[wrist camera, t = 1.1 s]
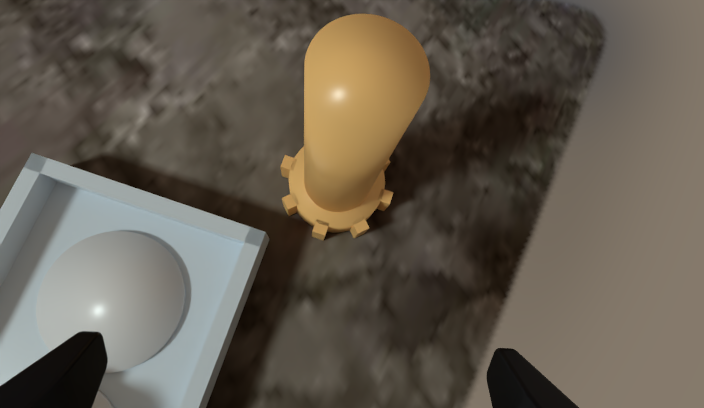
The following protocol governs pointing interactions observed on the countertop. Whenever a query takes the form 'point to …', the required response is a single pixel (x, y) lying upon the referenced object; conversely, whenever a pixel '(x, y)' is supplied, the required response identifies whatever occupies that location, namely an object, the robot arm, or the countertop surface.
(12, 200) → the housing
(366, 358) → the countertop surface
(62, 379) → the robot arm
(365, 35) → the tan gear peg
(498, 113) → the countertop surface
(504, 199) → the countertop surface
